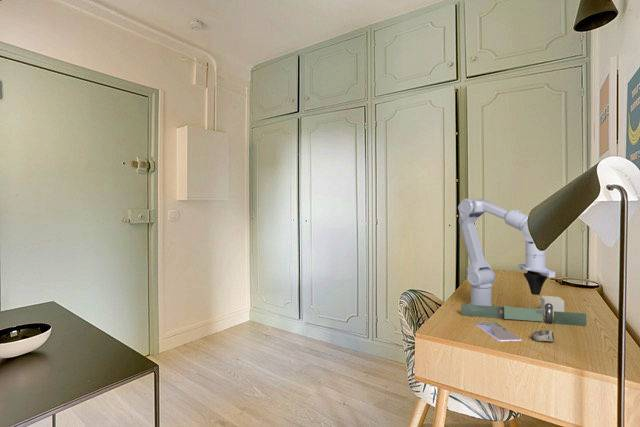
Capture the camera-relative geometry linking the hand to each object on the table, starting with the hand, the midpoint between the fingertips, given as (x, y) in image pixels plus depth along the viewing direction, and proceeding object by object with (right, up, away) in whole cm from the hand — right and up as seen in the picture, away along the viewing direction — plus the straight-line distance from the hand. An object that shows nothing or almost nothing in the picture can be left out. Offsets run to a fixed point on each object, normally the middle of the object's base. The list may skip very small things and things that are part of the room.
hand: (535, 294), depth 110 cm
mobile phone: (-16, -11, -6) cm, 21 cm away
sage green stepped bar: (-2, -10, +4) cm, 11 cm away
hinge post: (+10, -10, 0) cm, 15 cm away
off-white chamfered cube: (+14, -10, +11) cm, 20 cm away
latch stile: (-14, -10, +9) cm, 19 cm away
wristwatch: (-7, -10, -10) cm, 16 cm away
